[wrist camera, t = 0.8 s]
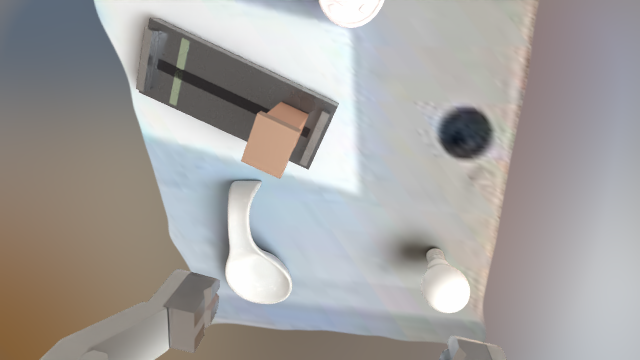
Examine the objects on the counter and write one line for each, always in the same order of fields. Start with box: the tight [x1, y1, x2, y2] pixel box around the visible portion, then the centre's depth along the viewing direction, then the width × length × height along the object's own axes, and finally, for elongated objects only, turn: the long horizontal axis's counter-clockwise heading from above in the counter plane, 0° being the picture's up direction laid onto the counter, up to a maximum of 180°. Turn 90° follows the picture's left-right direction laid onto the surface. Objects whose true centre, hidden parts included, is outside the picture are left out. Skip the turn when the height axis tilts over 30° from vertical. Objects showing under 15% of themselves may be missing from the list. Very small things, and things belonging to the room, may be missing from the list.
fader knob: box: [241, 102, 309, 179], centre depth 38 cm, size 5×6×9 cm
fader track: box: [136, 18, 339, 170], centre depth 42 cm, size 26×10×4 cm, turn 66°
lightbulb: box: [421, 249, 470, 313], centre depth 46 cm, size 6×6×11 cm
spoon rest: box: [225, 181, 292, 304], centre depth 51 cm, size 24×12×7 cm, turn 5°
